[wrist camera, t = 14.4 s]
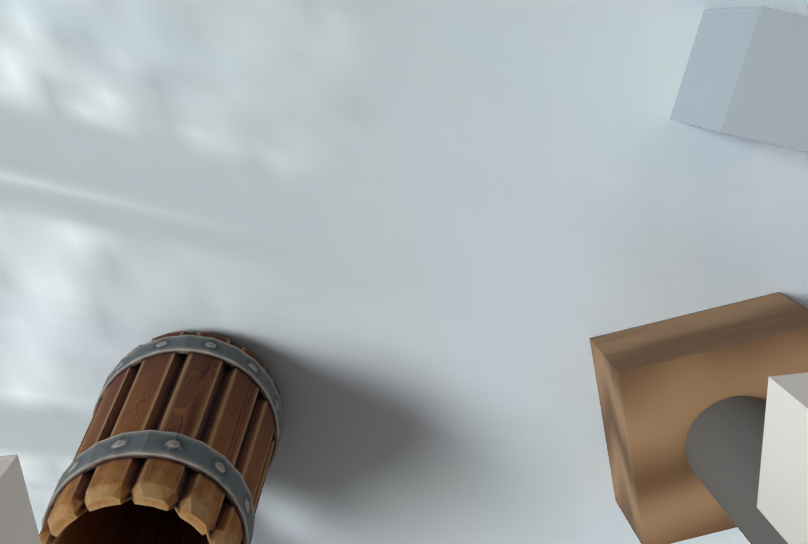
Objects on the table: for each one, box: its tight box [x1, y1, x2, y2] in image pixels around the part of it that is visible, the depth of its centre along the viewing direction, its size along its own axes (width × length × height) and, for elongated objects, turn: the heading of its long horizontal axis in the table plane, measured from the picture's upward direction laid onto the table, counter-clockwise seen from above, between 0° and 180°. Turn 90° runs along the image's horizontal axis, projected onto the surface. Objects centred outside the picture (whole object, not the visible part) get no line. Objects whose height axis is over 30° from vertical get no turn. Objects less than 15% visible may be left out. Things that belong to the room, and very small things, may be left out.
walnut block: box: [590, 292, 808, 544], centre depth 46 cm, size 12×12×5 cm
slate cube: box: [670, 6, 808, 152], centre depth 40 cm, size 6×6×6 cm
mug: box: [39, 331, 283, 544], centre depth 39 cm, size 16×11×15 cm
